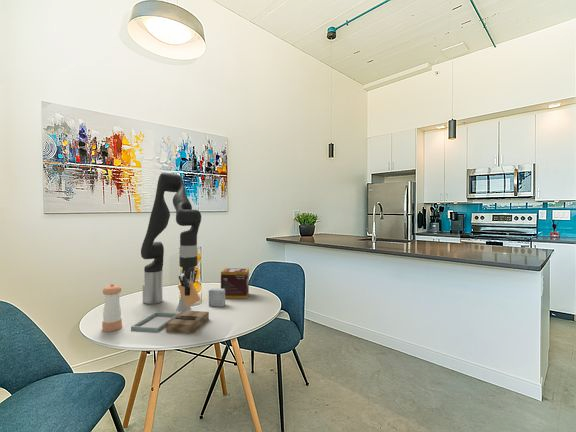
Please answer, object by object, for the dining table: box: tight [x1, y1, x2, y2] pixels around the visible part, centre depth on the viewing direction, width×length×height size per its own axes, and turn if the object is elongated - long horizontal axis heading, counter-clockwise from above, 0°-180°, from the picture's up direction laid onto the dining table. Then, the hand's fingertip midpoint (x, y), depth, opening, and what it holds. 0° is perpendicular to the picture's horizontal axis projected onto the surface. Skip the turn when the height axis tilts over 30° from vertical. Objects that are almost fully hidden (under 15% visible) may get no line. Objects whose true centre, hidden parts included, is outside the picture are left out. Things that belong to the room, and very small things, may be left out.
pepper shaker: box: [101, 283, 123, 332], centre depth 130 cm, size 7×7×19 cm
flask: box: [176, 291, 192, 313], centre depth 152 cm, size 7×7×10 cm
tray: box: [130, 311, 180, 333], centre depth 133 cm, size 12×18×2 cm, turn 172°
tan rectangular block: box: [177, 281, 202, 307], centre depth 131 cm, size 6×2×10 cm, turn 82°
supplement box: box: [220, 268, 250, 299], centre depth 180 cm, size 10×15×16 cm
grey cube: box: [208, 287, 226, 307], centre depth 162 cm, size 8×4×9 cm, turn 84°
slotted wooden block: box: [165, 310, 210, 334], centre depth 131 cm, size 12×16×5 cm
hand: (188, 294), depth 131 cm, fingers closed on tan rectangular block, 1 cm apart
